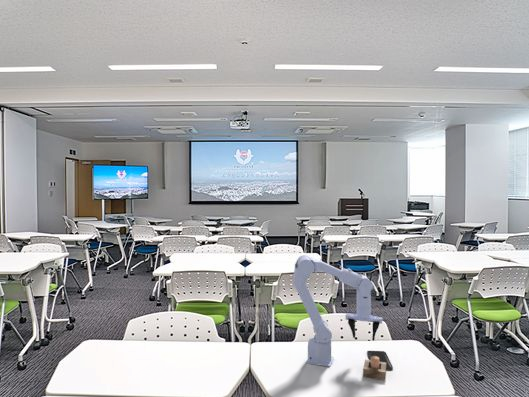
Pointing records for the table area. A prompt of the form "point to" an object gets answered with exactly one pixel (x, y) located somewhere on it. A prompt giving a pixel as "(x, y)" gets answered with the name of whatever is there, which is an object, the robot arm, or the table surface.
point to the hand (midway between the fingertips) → (363, 338)
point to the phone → (381, 358)
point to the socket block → (374, 370)
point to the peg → (375, 362)
